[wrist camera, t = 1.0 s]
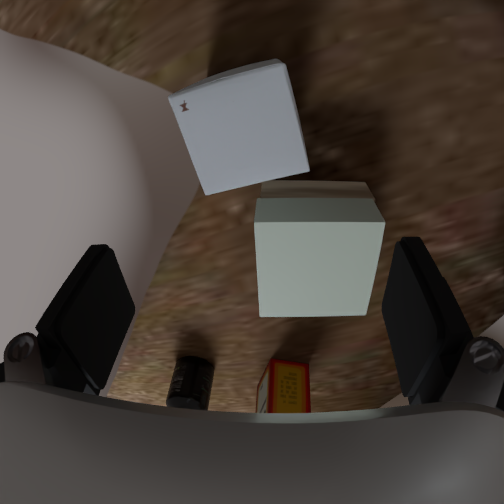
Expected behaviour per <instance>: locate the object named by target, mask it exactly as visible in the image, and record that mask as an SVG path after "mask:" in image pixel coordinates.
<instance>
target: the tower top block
mask: <svg viewBox="0 0 504 504" xmlns="http://www.w3.org/2000/svg"><path fill="white" fill-rule="evenodd" d="M384 227H385V221H384V219H383V217H382V215H381V213H380V212H379V210H378V208H377V206H376V204H375V202H374V201H373V199H368V198H257V203H256V211H255V219H254V229H255V245H256V262H257V279H258V295H259V312H260V317H316V316H353V315H366V312H367V308H368V304H369V300H370V295H371V291H372V287H373V282H374V278H375V273H376V268H377V264H378V259H379V254H380V249H381V243H382V238H383V233H384Z"/></svg>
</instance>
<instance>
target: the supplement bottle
mask: <svg viewBox="0 0 504 504" xmlns="http://www.w3.org/2000/svg"><path fill="white" fill-rule="evenodd" d="M213 376H214V369H213V367H212V365H211V364H210V363H209V362H207V361H206V360H204V359H202V358H199V357H194V356H186V357H183V358H180V359H179V360H178V361H177V362H176V365H175V369H174V372H173V376H172V380H171V384H170V388H169V391H168V395H167V400H166V405H167V407H175V408H184V409H195V410H207V411H208V406H209V400H210V394H211V388H212V382H213Z"/></svg>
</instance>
